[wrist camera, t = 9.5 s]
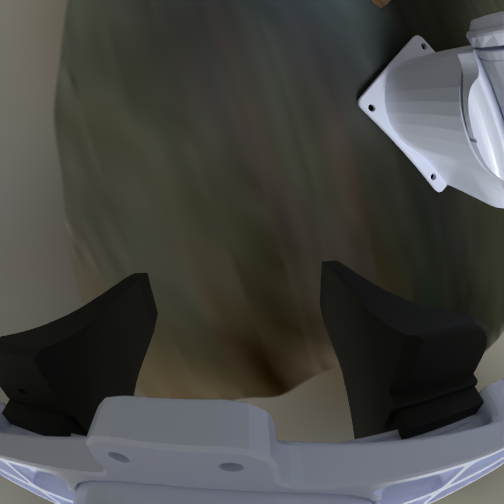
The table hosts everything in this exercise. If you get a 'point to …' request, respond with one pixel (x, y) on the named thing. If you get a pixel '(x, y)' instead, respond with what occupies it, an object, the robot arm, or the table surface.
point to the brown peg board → (380, 3)
